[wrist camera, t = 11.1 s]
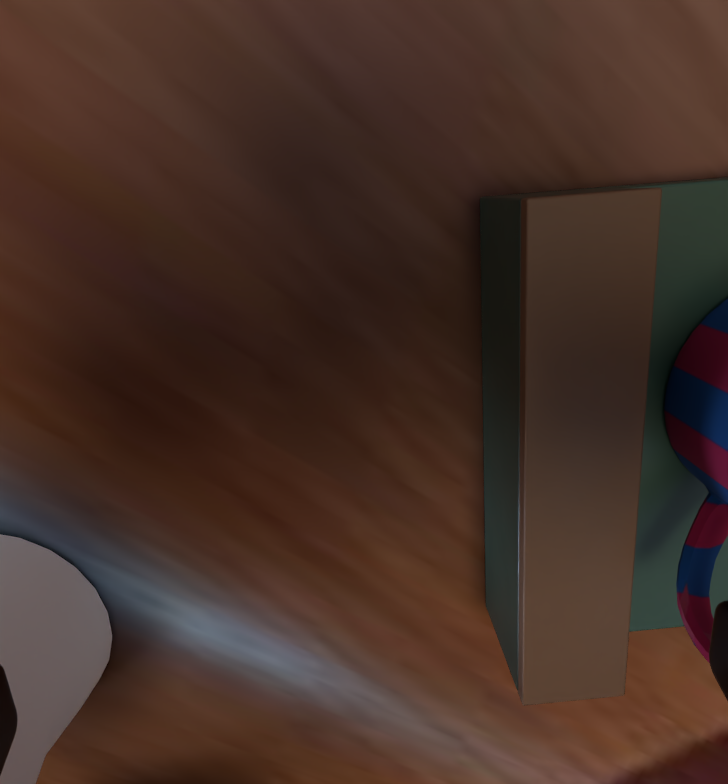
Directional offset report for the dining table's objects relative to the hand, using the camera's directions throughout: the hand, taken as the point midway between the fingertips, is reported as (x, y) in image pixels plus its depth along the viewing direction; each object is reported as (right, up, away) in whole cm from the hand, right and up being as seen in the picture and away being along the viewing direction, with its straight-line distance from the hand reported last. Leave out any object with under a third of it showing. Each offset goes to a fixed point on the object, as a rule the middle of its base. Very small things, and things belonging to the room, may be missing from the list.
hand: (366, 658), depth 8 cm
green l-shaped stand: (+10, +3, +12) cm, 16 cm away
